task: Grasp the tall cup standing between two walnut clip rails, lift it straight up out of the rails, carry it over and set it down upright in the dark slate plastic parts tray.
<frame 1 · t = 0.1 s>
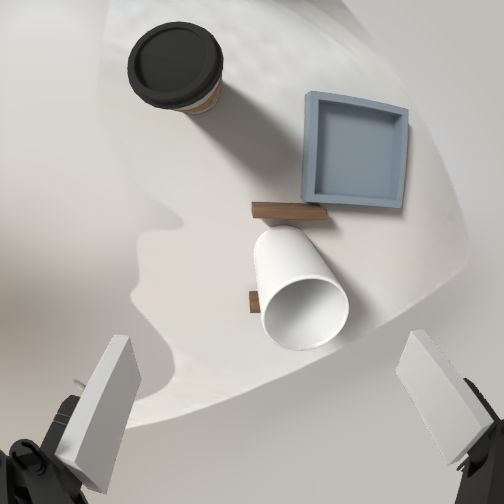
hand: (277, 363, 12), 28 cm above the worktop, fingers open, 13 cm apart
tray: (353, 150, 35), on the worktop
clip rails: (282, 253, 40), on the worktop
coffee cup: (196, 91, 32), on the worktop
cup: (282, 252, 40), on the worktop
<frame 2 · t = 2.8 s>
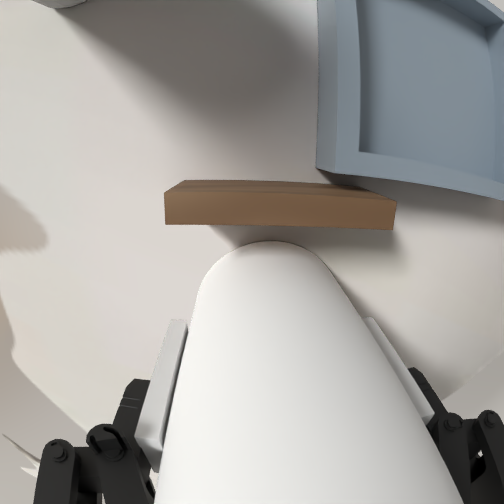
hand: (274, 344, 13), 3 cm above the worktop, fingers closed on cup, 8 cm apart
tray: (428, 70, 12), on the worktop
clip rails: (268, 308, 16), on the worktop
cup: (268, 306, 17), on the worktop, touching gripper
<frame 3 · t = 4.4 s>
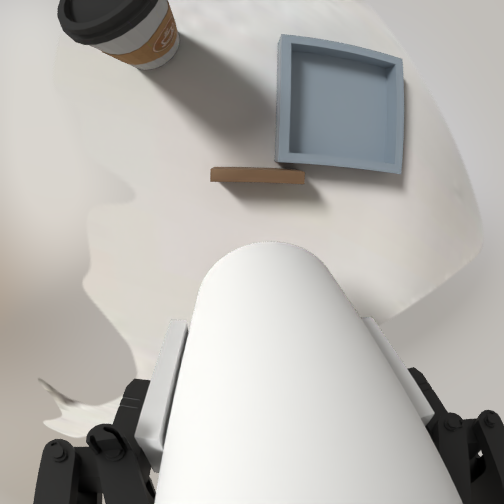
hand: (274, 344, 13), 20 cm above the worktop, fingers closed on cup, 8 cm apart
tray: (338, 105, 28), on the worktop
clip rails: (253, 231, 32), on the worktop
coffee cup: (154, 47, 25), on the worktop
cup: (268, 307, 17), point 17 cm above the worktop, touching gripper
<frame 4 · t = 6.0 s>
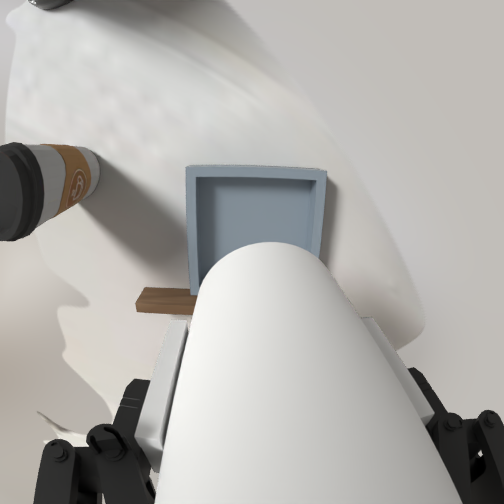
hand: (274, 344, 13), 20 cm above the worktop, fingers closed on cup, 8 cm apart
tray: (253, 228, 32), on the worktop
clip rails: (183, 335, 37), on the worktop
coffee cup: (81, 172, 29), on the worktop
cup: (268, 307, 17), point 17 cm above the worktop, touching gripper
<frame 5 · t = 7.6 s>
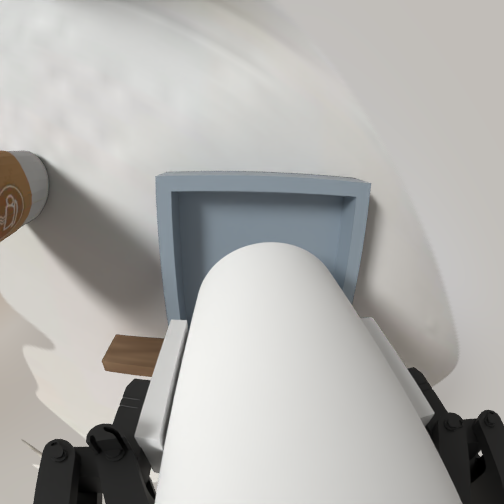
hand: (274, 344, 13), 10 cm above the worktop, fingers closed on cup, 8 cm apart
tray: (259, 262, 22), on the worktop
clip rails: (169, 389, 27), on the worktop
coffee cup: (28, 184, 19), on the worktop
cup: (268, 307, 17), point 6 cm above the worktop, touching gripper
when the fingers open (5 cm above the worktop, at t = 9.1 s): cup stays where it is, resting on tray.
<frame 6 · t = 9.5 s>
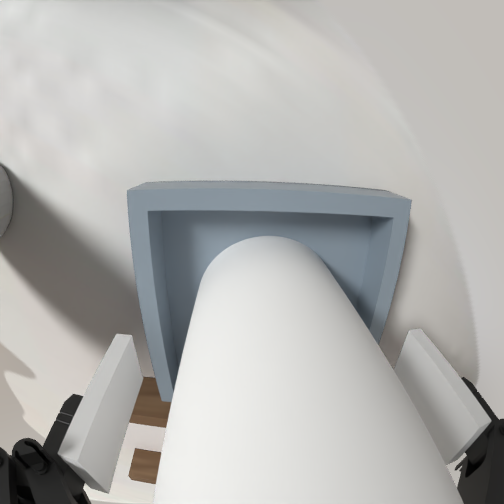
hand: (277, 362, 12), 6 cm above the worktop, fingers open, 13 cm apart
tray: (265, 296, 18), on the worktop
clip rails: (162, 426, 22), on the worktop
cup: (266, 299, 17), resting on tray
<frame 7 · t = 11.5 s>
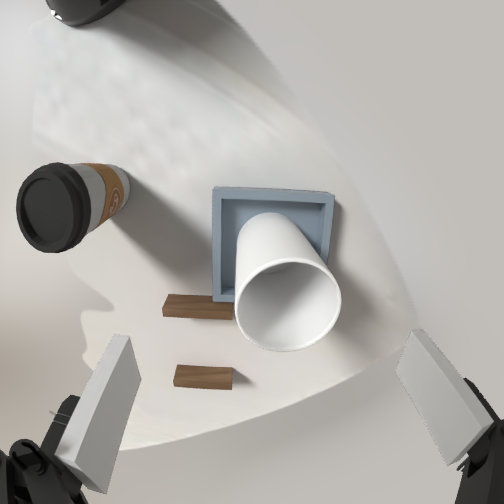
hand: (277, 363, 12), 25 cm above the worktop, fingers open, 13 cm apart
tray: (269, 243, 37), on the worktop
clip rails: (202, 337, 41), on the worktop
coffee cup: (110, 188, 34), on the worktop
cup: (269, 243, 36), resting on tray
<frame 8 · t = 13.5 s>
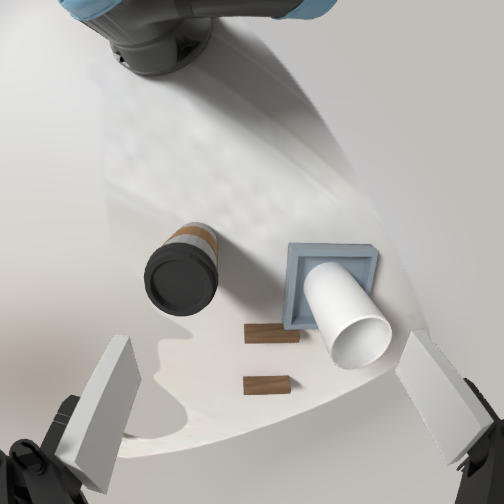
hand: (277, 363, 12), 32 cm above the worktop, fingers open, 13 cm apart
tray: (326, 283, 46), on the worktop
clip rails: (267, 354, 51), on the worktop
coffee cup: (196, 241, 43), on the worktop
cup: (327, 284, 46), resting on tray
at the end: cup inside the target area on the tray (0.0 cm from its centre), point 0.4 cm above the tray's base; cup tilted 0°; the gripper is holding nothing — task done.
